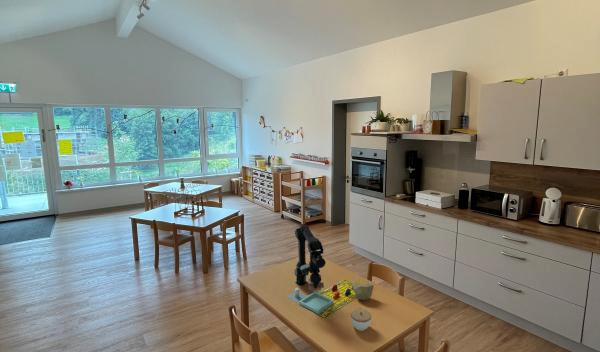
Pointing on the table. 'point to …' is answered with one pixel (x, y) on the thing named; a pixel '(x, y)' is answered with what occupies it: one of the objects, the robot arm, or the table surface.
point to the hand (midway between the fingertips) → (314, 285)
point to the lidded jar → (360, 319)
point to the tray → (316, 302)
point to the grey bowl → (362, 290)
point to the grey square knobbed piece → (296, 295)
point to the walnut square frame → (320, 285)
